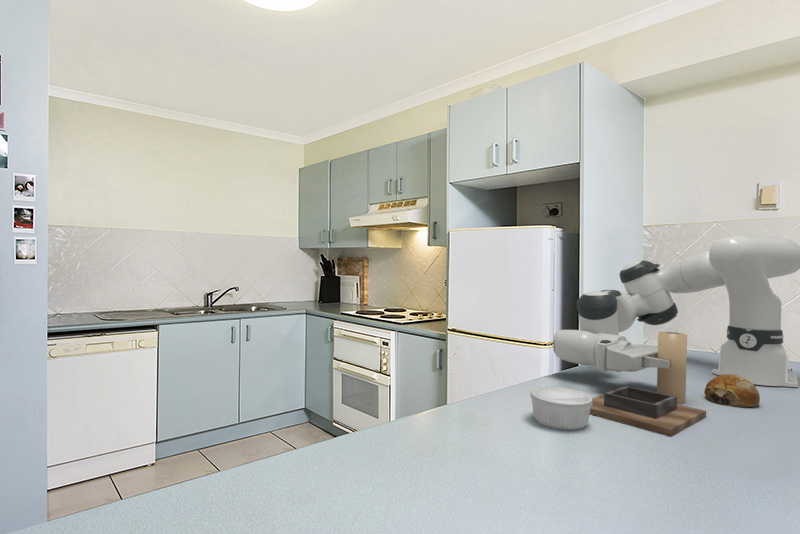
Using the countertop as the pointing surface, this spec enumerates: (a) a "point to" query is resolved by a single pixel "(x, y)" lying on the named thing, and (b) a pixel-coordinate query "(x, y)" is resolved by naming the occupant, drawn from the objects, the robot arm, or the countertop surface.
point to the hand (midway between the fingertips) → (676, 362)
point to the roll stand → (646, 410)
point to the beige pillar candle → (672, 365)
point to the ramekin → (561, 407)
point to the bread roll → (732, 391)
